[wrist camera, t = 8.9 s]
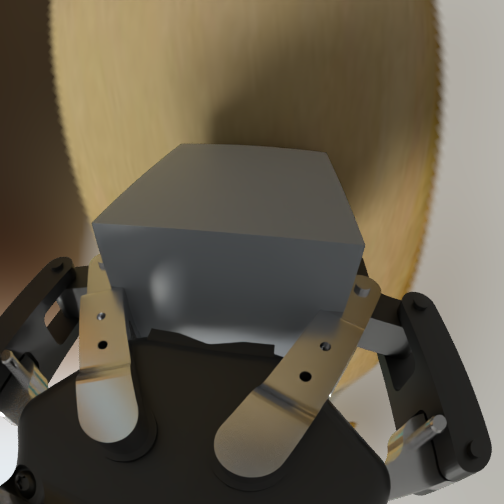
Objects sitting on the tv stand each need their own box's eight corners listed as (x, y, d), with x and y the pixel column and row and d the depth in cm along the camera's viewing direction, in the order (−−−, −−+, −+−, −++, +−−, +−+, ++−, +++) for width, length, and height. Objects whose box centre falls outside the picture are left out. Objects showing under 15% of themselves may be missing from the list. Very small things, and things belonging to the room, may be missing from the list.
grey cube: (180, 143, 13) (91, 223, 7) (326, 152, 12) (365, 245, 6) (189, 258, 16) (144, 368, 10) (307, 269, 16) (312, 390, 10)
